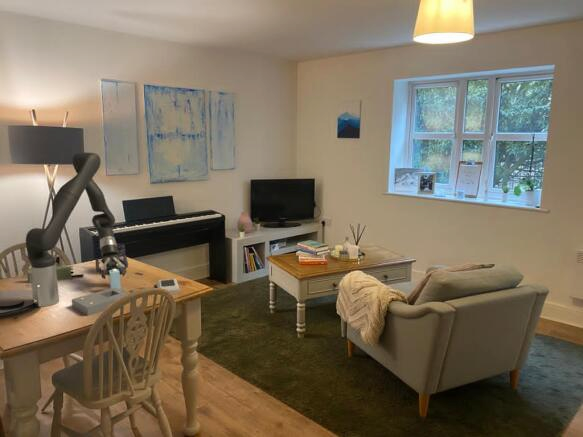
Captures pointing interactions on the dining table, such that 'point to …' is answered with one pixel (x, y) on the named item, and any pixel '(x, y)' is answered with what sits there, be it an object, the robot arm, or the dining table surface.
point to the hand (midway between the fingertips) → (114, 276)
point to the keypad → (169, 285)
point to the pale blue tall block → (114, 278)
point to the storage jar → (121, 253)
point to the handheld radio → (58, 274)
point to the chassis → (97, 300)
